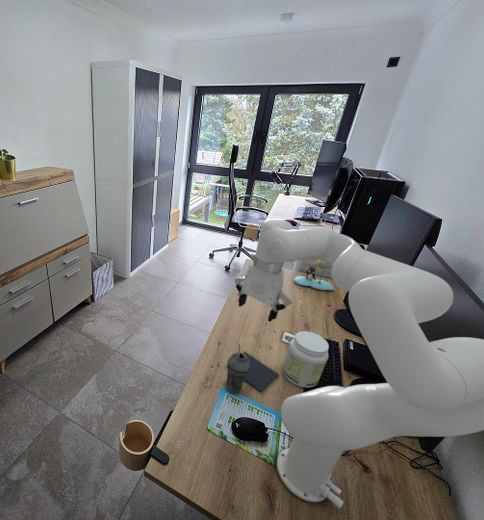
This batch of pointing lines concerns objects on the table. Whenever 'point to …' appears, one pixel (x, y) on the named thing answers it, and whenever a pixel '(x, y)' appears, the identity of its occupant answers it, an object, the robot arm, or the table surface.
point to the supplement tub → (305, 359)
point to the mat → (258, 374)
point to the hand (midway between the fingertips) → (256, 311)
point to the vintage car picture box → (287, 337)
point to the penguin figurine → (310, 274)
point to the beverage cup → (237, 371)
